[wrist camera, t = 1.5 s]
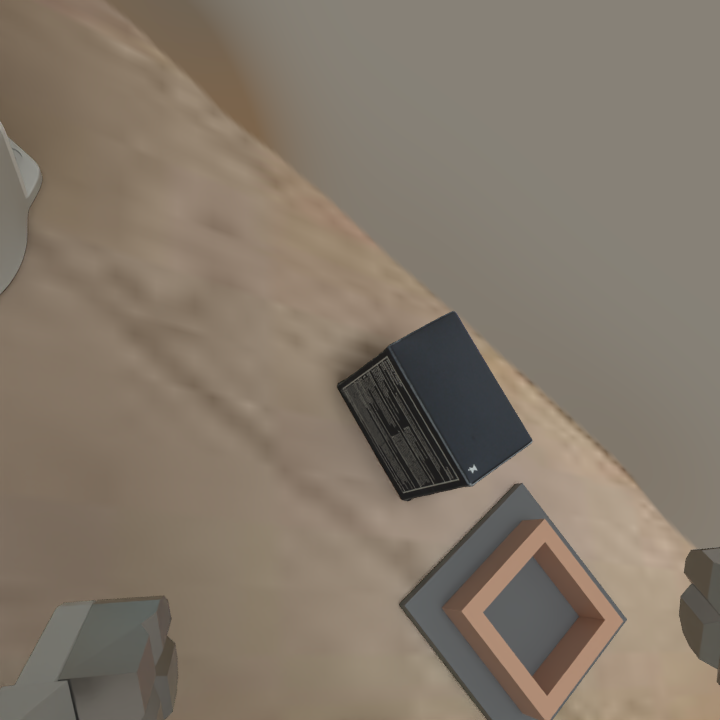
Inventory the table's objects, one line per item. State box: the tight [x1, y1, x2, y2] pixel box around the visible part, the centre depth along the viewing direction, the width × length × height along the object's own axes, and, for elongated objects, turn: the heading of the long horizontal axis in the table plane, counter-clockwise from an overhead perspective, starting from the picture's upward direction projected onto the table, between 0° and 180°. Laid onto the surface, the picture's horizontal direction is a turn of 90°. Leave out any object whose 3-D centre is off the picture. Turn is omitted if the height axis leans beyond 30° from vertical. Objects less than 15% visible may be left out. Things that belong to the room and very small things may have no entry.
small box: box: [337, 311, 532, 501], centre depth 47 cm, size 11×6×10 cm, turn 32°
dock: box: [399, 483, 627, 720], centre depth 49 cm, size 14×14×4 cm
